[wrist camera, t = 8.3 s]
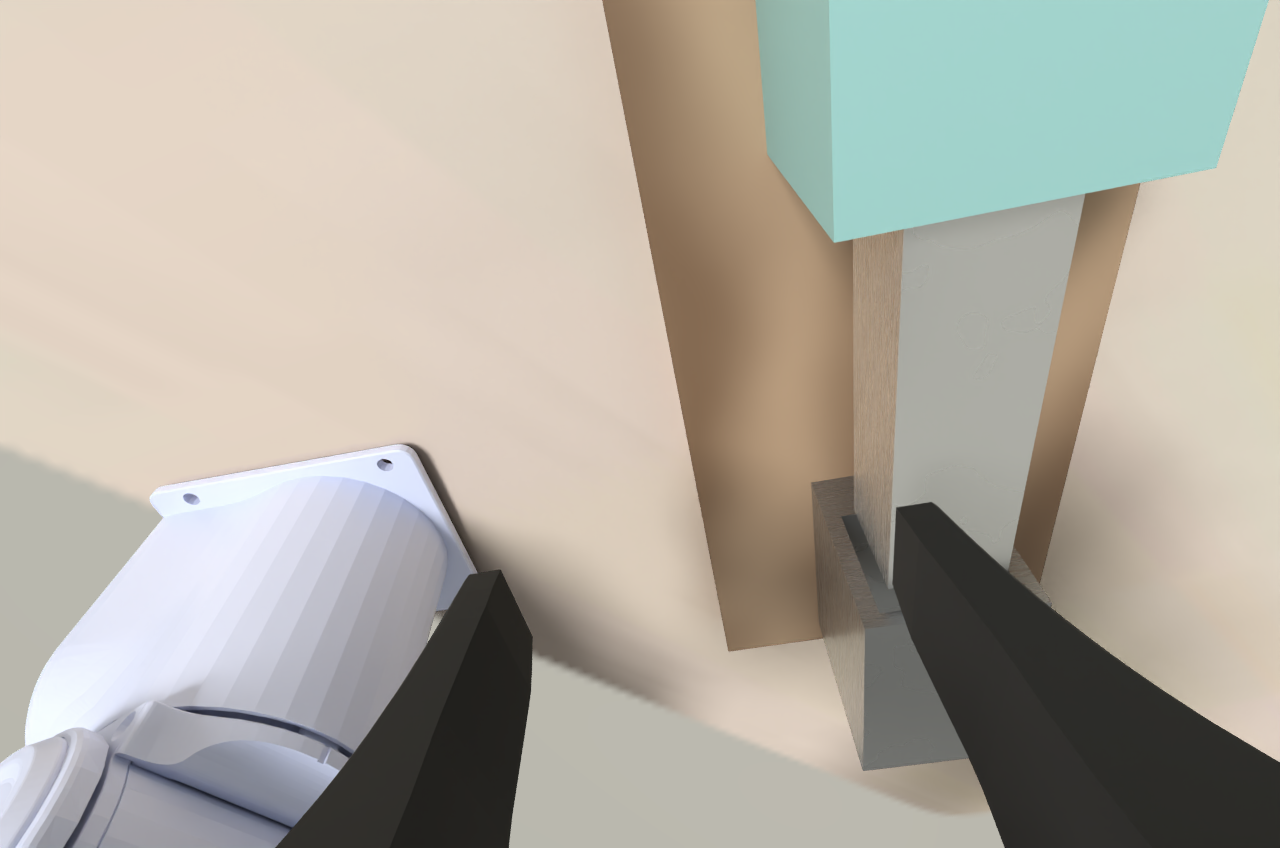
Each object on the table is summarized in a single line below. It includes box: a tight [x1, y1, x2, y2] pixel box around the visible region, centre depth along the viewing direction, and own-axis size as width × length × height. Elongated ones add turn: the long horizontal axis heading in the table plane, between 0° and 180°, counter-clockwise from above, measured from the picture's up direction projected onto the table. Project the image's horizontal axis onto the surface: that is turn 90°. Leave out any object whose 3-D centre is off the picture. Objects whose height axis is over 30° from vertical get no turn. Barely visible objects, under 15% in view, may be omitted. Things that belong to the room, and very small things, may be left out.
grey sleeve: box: [811, 476, 1052, 771], centre depth 21 cm, size 5×8×6 cm, turn 11°
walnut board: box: [602, 0, 1140, 651], centre depth 20 cm, size 12×24×2 cm, turn 11°
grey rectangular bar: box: [853, 194, 1085, 589], centre depth 14 cm, size 3×13×3 cm, turn 11°
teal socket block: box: [755, 0, 1269, 243], centre depth 11 cm, size 6×4×6 cm
